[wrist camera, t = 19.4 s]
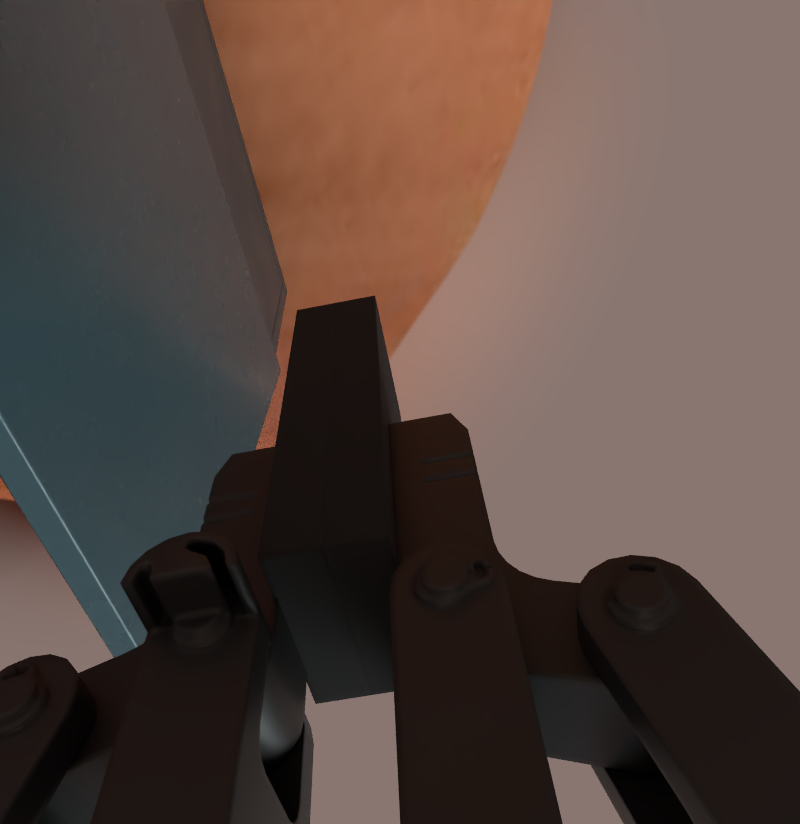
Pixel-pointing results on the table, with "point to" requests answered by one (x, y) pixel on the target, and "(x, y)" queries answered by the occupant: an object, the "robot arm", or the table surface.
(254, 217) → the dark teal hollow box
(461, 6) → the table surface
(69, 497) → the lid
